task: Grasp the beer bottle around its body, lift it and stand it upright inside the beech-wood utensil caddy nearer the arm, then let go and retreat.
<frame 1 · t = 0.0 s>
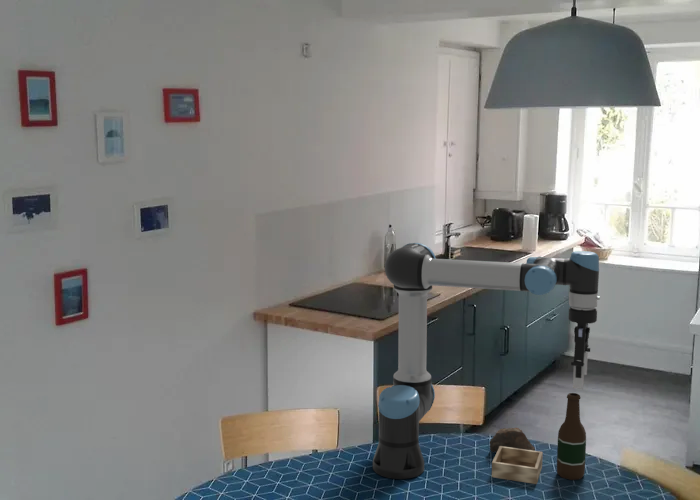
hand: (580, 381, 210), 28 cm above the table, fingers open, 13 cm apart
rock: (511, 451, 232), on the table
caddy: (517, 471, 216), on the table
beer bottle: (570, 475, 214), on the table
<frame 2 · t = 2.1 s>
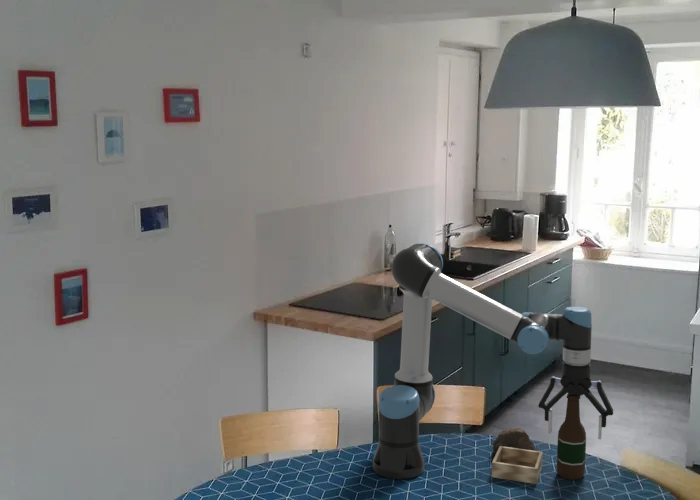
hand: (574, 434, 212), 12 cm above the table, fingers open, 13 cm apart
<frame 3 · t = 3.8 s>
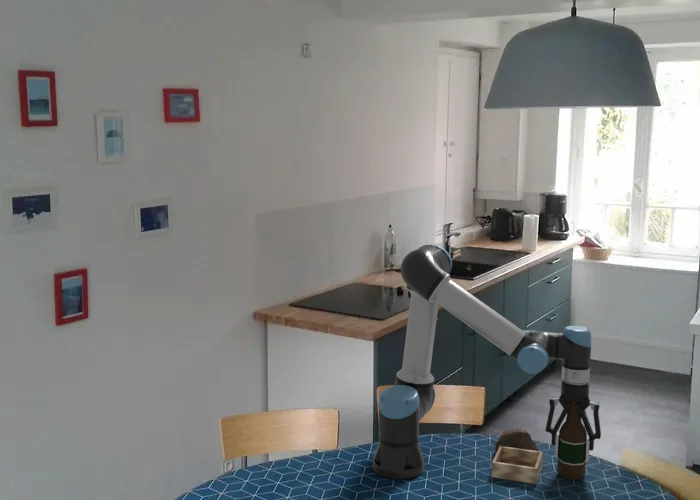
hand: (571, 458, 213), 5 cm above the table, fingers closed on beer bottle, 8 cm apart
beer bottle: (571, 475, 214), on the table, touching gripper
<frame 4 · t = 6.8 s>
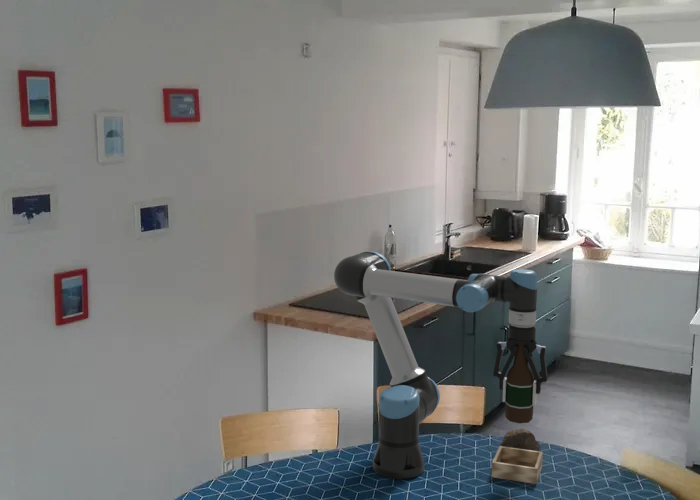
hand: (519, 402, 214), 21 cm above the table, fingers closed on beer bottle, 8 cm apart
beer bottle: (518, 419, 215), point 16 cm above the table, touching gripper
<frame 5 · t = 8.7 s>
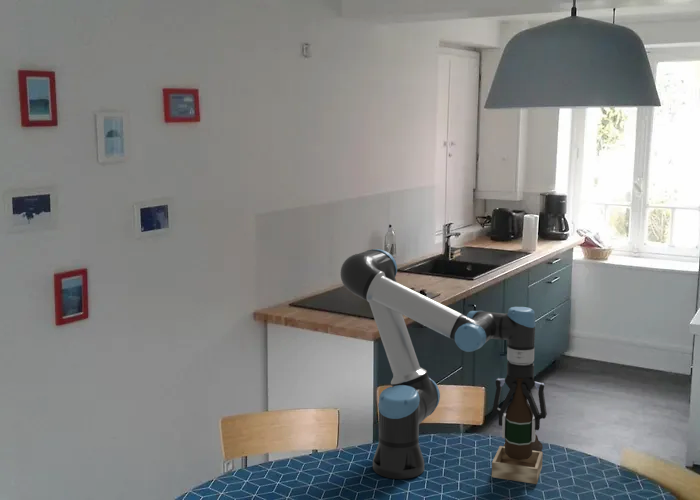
hand: (518, 438, 215), 10 cm above the table, fingers closed on beer bottle, 8 cm apart
beer bottle: (518, 455, 216), point 5 cm above the table, touching gripper
when the fingers open (8 cm above the table, at t = 10.1 s): beer bottle drops 2 cm, resting on caddy.
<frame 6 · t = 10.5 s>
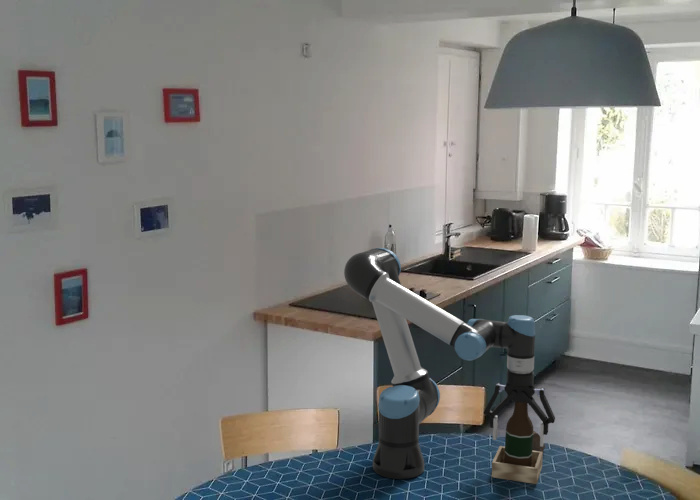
hand: (518, 441, 215), 9 cm above the table, fingers open, 13 cm apart
beer bottle: (517, 468, 217), point 1 cm above the table, touching caddy
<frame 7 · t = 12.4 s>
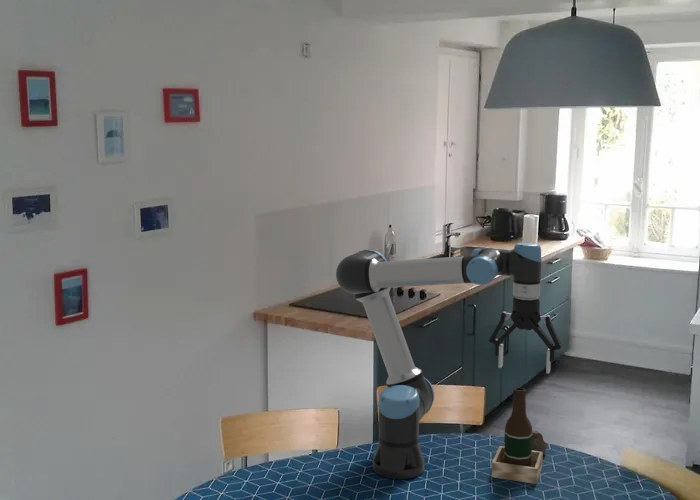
hand: (524, 369, 215), 30 cm above the table, fingers open, 13 cm apart
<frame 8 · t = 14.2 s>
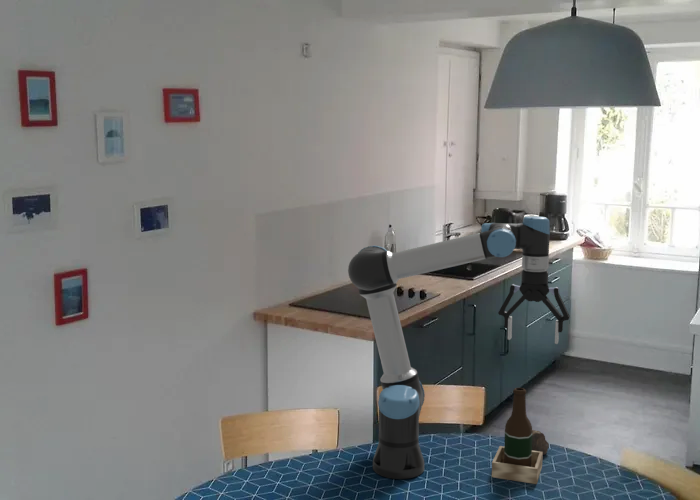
hand: (532, 340, 220), 37 cm above the table, fingers open, 13 cm apart
at the end: beer bottle inside the target area on the caddy (0.3 cm from its centre), point 0.6 cm above the caddy's base; beer bottle tilted 0°; the gripper is holding nothing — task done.
